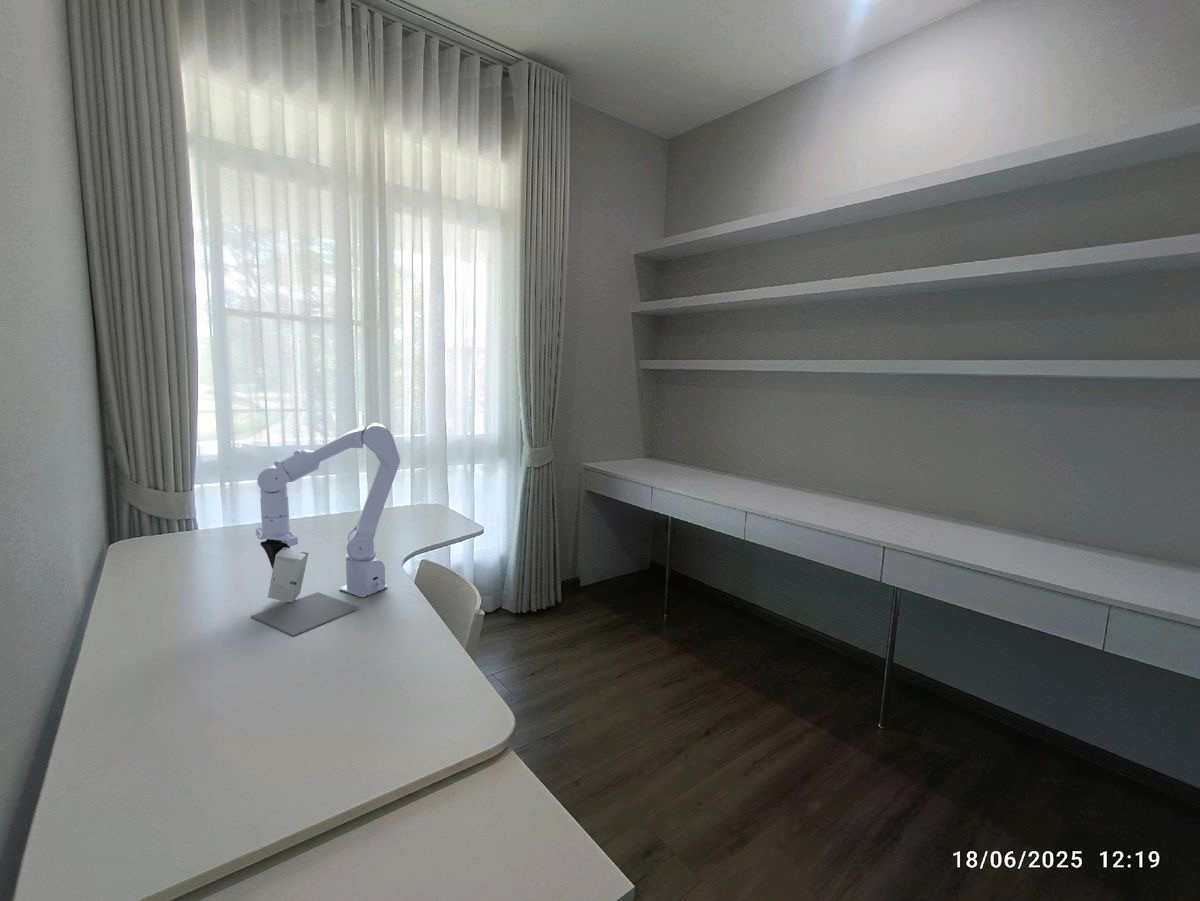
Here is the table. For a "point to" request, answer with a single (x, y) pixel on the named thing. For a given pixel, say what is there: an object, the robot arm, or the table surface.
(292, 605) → the mat
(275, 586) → the skincare box
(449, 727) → the table surface
